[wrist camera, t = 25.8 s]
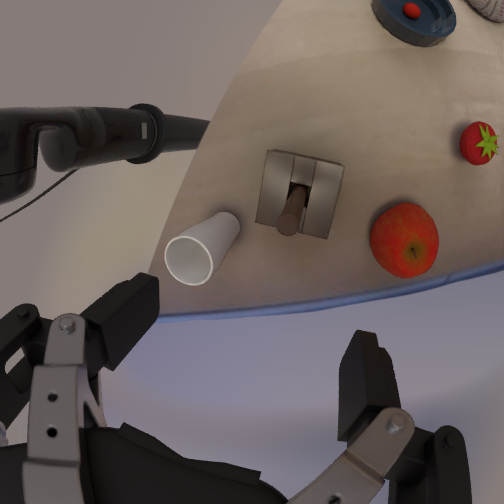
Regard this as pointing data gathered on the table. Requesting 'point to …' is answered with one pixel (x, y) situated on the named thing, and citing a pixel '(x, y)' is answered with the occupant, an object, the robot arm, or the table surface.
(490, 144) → the strawberry
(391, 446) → the robot arm
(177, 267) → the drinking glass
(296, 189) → the stirring stick
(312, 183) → the holder
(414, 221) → the apple
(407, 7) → the ball
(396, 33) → the bowl
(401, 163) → the table surface
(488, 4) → the sea urchin shell
